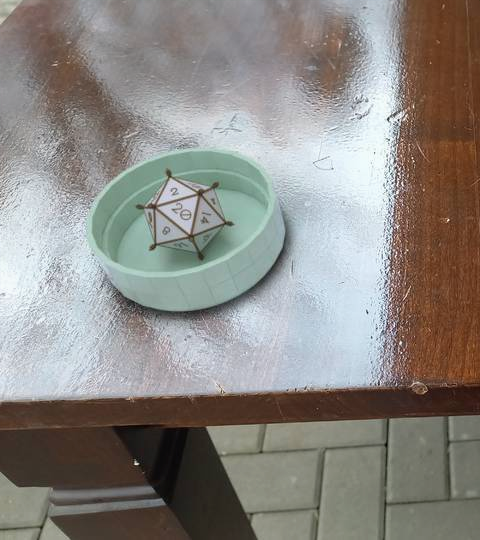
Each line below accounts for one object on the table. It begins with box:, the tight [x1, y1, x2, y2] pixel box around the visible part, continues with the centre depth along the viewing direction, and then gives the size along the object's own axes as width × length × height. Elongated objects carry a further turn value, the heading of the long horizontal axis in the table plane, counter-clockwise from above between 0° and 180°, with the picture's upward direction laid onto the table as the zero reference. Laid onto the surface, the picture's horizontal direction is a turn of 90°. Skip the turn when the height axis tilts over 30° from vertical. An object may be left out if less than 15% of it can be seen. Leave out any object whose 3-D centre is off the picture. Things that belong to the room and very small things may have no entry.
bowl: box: [84, 147, 286, 312], centre depth 72 cm, size 18×18×6 cm
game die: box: [135, 169, 235, 261], centre depth 70 cm, size 9×8×10 cm
